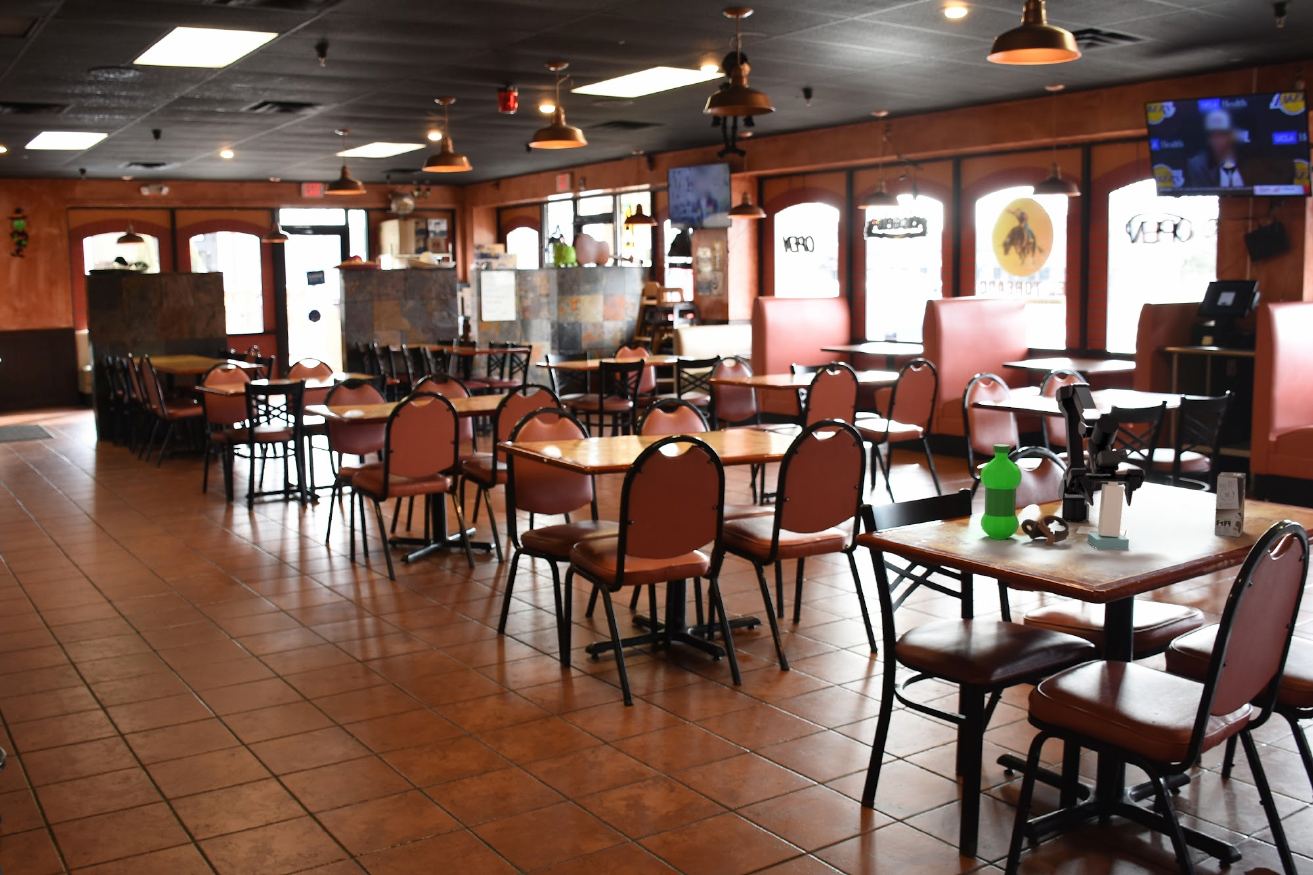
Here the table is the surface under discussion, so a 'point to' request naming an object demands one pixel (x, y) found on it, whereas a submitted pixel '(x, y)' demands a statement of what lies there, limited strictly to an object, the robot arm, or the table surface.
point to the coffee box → (1230, 504)
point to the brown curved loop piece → (1046, 529)
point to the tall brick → (1110, 509)
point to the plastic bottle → (1000, 494)
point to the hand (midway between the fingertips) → (1111, 505)
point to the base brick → (1108, 541)
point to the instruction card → (1093, 530)
